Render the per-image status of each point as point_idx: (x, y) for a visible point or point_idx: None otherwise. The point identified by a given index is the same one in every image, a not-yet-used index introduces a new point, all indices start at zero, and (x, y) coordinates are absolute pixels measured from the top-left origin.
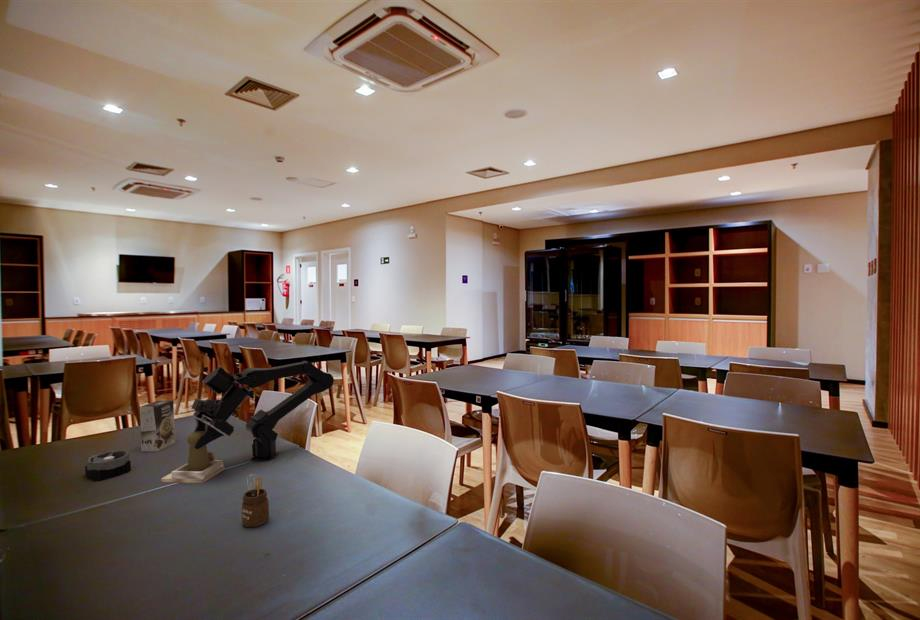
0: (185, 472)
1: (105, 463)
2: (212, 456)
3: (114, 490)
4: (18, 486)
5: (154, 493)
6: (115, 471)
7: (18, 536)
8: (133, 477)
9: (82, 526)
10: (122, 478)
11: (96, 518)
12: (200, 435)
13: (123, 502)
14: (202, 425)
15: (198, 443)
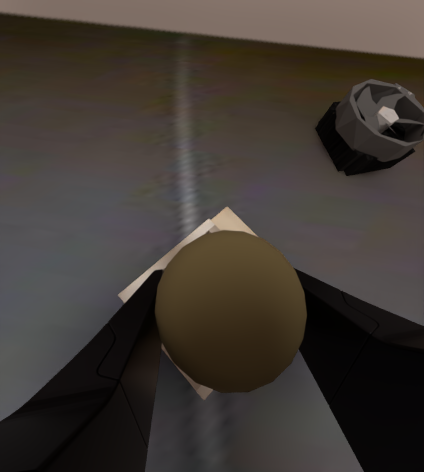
0: (171, 250)
1: (346, 103)
2: None
3: (241, 137)
4: (358, 58)
5: (157, 187)
6: (335, 142)
7: (140, 34)
8: (299, 173)
9: (95, 81)
10: (306, 157)
11: (113, 98)
12: (161, 318)
13: (156, 138)
14: (407, 401)
15: (139, 290)
